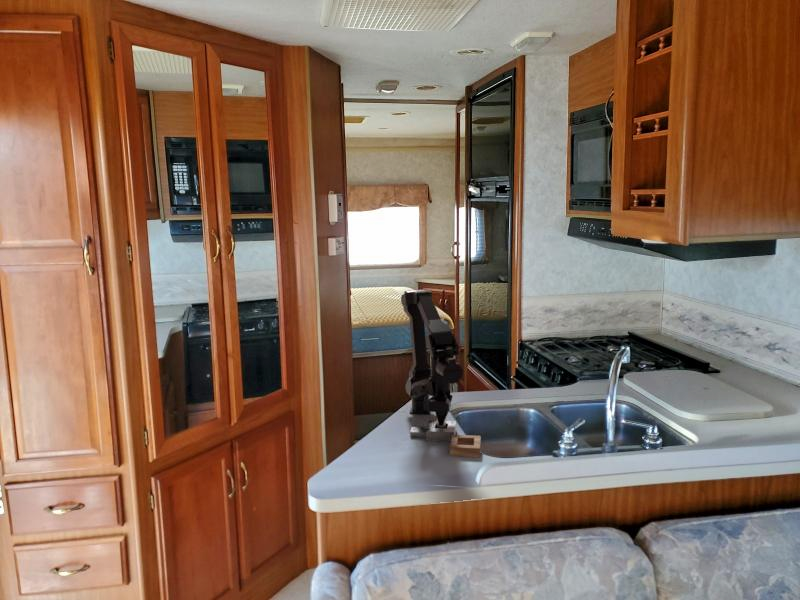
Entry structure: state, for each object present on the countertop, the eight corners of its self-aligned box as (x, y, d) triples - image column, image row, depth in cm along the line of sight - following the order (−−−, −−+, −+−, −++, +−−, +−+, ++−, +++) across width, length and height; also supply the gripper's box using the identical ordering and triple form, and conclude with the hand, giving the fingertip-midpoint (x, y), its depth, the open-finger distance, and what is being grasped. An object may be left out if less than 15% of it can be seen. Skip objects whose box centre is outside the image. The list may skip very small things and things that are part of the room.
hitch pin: (436, 433, 179) (436, 403, 177) (447, 433, 179) (447, 404, 177) (435, 437, 176) (435, 407, 174) (446, 438, 175) (446, 408, 174)
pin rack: (452, 442, 172) (452, 434, 172) (480, 444, 171) (480, 435, 171) (450, 455, 165) (450, 447, 164) (479, 457, 163) (479, 448, 163)
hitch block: (413, 428, 183) (412, 419, 182) (456, 430, 180) (456, 421, 180) (409, 440, 175) (408, 430, 174) (454, 442, 173) (454, 432, 172)
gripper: (417, 361, 184) (418, 410, 187) (408, 382, 166) (409, 435, 169) (453, 362, 182) (454, 411, 185) (448, 383, 164) (449, 437, 167)
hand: (441, 423), depth 176 cm, fingers closed on hitch pin, 3 cm apart
